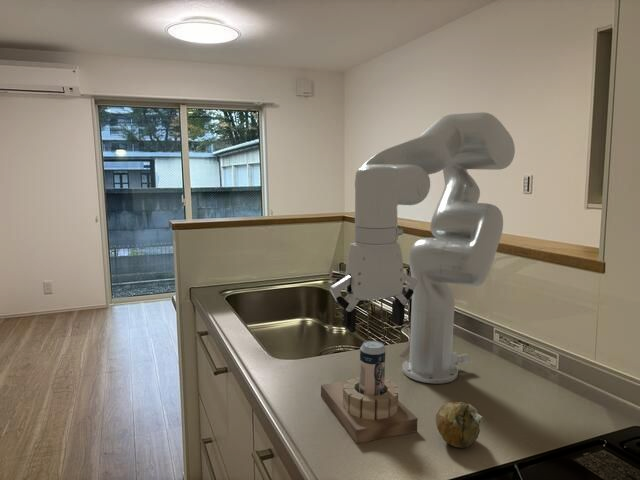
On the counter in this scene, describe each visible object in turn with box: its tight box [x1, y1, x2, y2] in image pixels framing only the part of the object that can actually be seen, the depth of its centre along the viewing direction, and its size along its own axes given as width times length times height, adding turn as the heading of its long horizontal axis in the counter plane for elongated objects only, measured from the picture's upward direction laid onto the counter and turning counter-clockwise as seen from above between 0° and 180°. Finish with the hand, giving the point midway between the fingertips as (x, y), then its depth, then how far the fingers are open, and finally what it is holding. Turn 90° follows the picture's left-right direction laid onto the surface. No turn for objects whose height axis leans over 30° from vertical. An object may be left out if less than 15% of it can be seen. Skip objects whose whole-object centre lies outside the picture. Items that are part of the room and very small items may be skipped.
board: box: [320, 376, 419, 444], centre depth 91 cm, size 12×18×6 cm, turn 20°
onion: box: [435, 401, 485, 449], centre depth 82 cm, size 8×8×8 cm
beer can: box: [358, 340, 387, 396], centre depth 89 cm, size 5×5×12 cm
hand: (374, 326), depth 88 cm, fingers open, 9 cm apart
